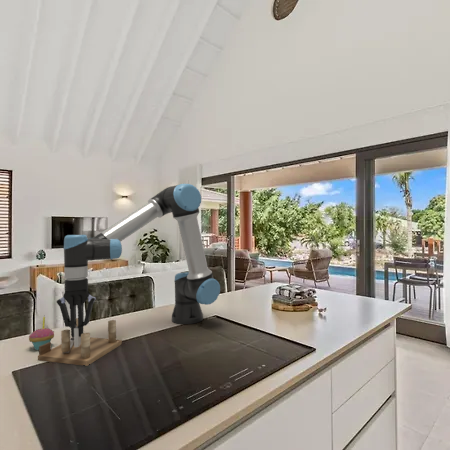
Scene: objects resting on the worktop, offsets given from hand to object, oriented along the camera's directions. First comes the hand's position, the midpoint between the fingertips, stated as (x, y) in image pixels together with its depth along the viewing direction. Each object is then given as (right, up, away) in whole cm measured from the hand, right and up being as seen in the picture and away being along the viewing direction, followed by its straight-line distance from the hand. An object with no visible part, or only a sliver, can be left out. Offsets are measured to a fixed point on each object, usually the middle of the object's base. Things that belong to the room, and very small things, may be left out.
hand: (77, 345), depth 114 cm
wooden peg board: (-1, -4, +5) cm, 7 cm away
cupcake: (-18, -5, +10) cm, 21 cm away
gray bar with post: (-5, -2, +5) cm, 8 cm away
